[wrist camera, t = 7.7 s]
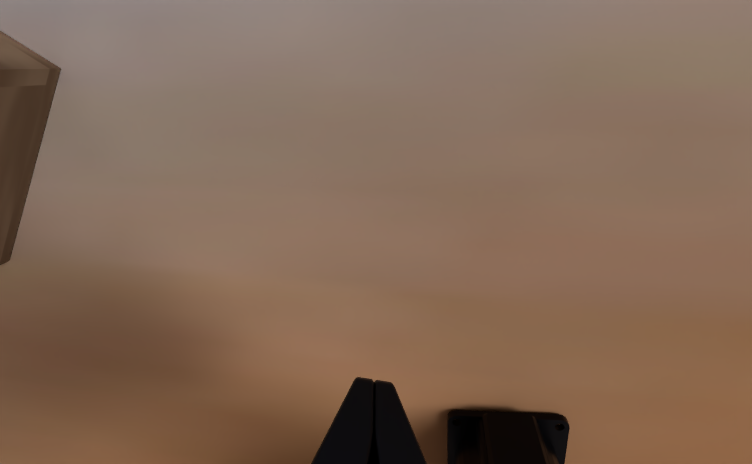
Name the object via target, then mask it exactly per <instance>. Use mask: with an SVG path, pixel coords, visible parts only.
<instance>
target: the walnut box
mask: <svg viewBox="0 0 752 464" xmlns="http://www.w3.org/2000/svg"><path fill="white" fill-rule="evenodd" d="M60 70H61V68H59V67H57V66H56V65H54V64H53V63H51V62H49V61H48V60H46V59H45V58H43V57H41V56H40V55H38V54H37V53H35V52H33V51H32V50H30V49H28V48H27V47H25V46H24V45H22V44H20V43H19V42H17V41H16V40H14V39H12V38H11V37H9V36H8V35H6V34H4V33H3V32H1V31H0V265H1V264H3V263H5V262H7V261H9V260H10V256H11V253H12V249H13V245H14V241H15V238H16V234H17V230H18V227H19V223H20V219H21V215H22V212H23V208H24V204H25V200H26V197H27V193H28V189H29V186H30V182H31V178H32V174H33V171H34V167H35V163H36V159H37V156H38V152H39V148H40V144H41V141H42V137H43V133H44V130H45V126H46V122H47V118H48V115H49V111H50V107H51V103H52V100H53V96H54V92H55V89H56V85H57V81H58V77H59V74H60Z"/></svg>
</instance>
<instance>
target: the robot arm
mask: <svg viewBox="0 0 752 464" xmlns="http://www.w3.org/2000/svg"><path fill="white" fill-rule="evenodd" d="M454 419H459V420H454ZM557 424H560V425H557ZM568 434H569V424H568V421H567V419H566V417H564V416H563V415H559V414H536V413H511V412H487V411H463V410H454V411H451V412H449V414H448V416H447V446H448V464H564V462H565V455H566V448H567V441H568ZM311 464H427V463H426V461H425V458H424V456H423V453H422V451H421V449H420V446H419V444H418V442H417V439H416V437H415V434H414V432H413V430H412V427H411V425H410V422H409V420H408V418H407V415H406V413H405V411H404V408H403V406H402V403H401V401H400V399H399V396H398V394H397V392H396V389H395V387H394V385H393V384H392V383H391V382H386V381H380V380H376V381H375V382H373V380H372V379H367V378H361V377H357V378H355V380H354V382H353V384H352V385H351V387H350V389H349V391H348V393H347V395H346V397H345V399H344V401H343V403H342V405H341V407H340V409H339V411H338V413H337V415H336V417H335V418H334V420H333V422H332V424H331V426H330V428H329V430H328V432H327V434H326V436H325V438H324V440H323V442H322V444H321V446H320V448H319V450H318V451H317V453H316V455H315V457H314V459H313V461H312V463H311Z"/></svg>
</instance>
